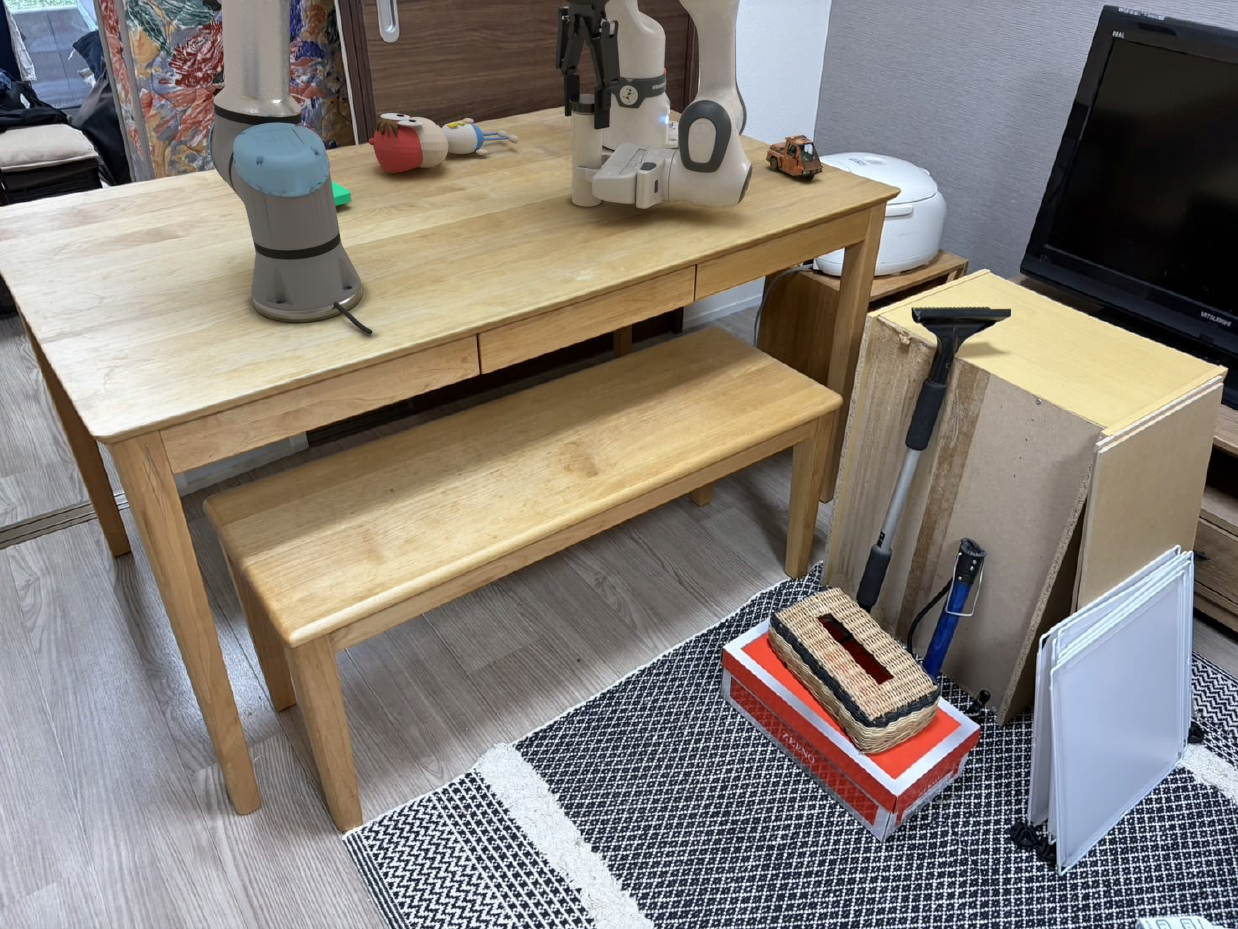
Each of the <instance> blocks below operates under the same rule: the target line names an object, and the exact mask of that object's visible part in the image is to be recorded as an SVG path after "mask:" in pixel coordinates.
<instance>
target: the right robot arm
mask: <svg viewBox="0 0 1238 929" xmlns="http://www.w3.org/2000/svg"><path fill="white" fill-rule="evenodd" d="M678 1H679V3H680V5H682V7H683V8H684V10H686V11H687V13H688V14H689V15H690V18H691V19H692V21H693V23H694V25H695V28H696V34H697V38H698V65H699V66H698V67H699V86H698V90H697V93H696V95H695V98H694V100H693V101H692V102H691V103H689V105H687V106H686V108H684V110H683V111H682V113H681V114H680V117H679V120H678V121H675V120H672V119H670V118H671V100H670V99H669V97H668V95H667V93H666V90H667V77H666V75H667V68H666V67H665V59H666V58H665V57H666V56H665V55H666V54H665V53H666V34H665V30H664V28H663V27H662V25H661V24H660V23H659V22H658V21H657V20H655V19H654V18H652V17H650V16H648V15H647V14H645V13H643V12H642V11H640V10H639V6H638V0H610V1H609V2H608V3H607V4H606V5H605V11H606V15H607V18H608V19H610V20H611V21H612V20H617V21H618V23H619V26H618V34H617V40H618V53H619V66H620V80H621V84H620V86H617V87H613V88H612V91H611V108H610V127H608V128H603V129H602V147H605V148H607V149H609V150H612V151H613V152H605V153H603V152H602V167H601V168H600V169H594V170H592V169H588V168H587V166H578V167H577V168H576V170H575V177H576V178H579V179H585V180H587V181H589V182H591V183H592V195H593V196H594V197H596V198H598V199H601V201H605V202H610V203H611V202H612V203H616V204H617V203H618V204H624V205H633V204H635V207H636V208H638V209H649V208H650V207H652V206H654V205H656V204H661V203H663V202H664V203H672V204H673V203H674V204H675V203H680V202H681V203H688V204H690V205H693V206H695V207H696V206H697V207H706V208H721V209H723V208H732V207H736V206H737V205H739V204H740V203H741V202H742V201H743V199H744V198H745V196H746V193H747V191H748V188H749V185H750V182H751V179H752V176H753V175H752V174H753V164H752V163H751V162H750V159H749V158H748V156H747V154H746V152H745V149H744V147H743V144H742V140H741V136H742V134H743V133H744V131H745V128H746V125H747V120H748V113H747V108H746V104H745V102H744V99H743V96H742V94H741V92H740V88H739V85H738V80H737V35H736V34H737V20H738V13H739V7H740V1H741V0H678ZM677 148H679V149H677Z"/></svg>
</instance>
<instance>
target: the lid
mask: <svg viewBox="0 0 1238 929" xmlns="http://www.w3.org/2000/svg"><path fill="white" fill-rule="evenodd" d="M569 100H570V101H569V108H570V109H571V110H572V111H575V112H580V113H594V93H580V94H578V95H573V96H571V97H570V99H569Z"/></svg>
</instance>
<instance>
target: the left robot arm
mask: <svg viewBox="0 0 1238 929" xmlns="http://www.w3.org/2000/svg"><path fill="white" fill-rule="evenodd" d="M609 1H610V0H565V2H567V3H569V4H568V5H566V6H559V7H557V10H556V12H557V21H558V22H557V34H556V35H557V36H556V48H555V61H554V66H555V69H557V70H560V72H561V73H560V74H561V75H562V76H563V94H564V96H563V97H564V116H565V117H571V109H570V108H569V101H570V100H569V99H570V97H571V96H573V95H578V94H581V79H580V78H581V75H580V74H579V73H580V72H581V70H580V69H579V68H578V67H579V64H580V60H581V56H582V52H583V49H584V45H586V46H587V47H588V48H589V53H590V56H591V61H592V65H593V70H594V75H595V79H596V85H597V86H595V87H594V93H593V94H594V129H596V130H598V129H603V128H608V127H610V108H611V91H612V88H613V87H617V86H620V84H621V80H620V66H619V53H618V40H617V34H618V26H619V23H618V21H617V20H612V21H611V20H610V19H608V18H607V15H606V11H605V5H606V4H607V3H608V2H609ZM221 23H222V24H221V25H222V47H223V50H222V52H223V70H224V71H223V73H224V87H223V88H222V89H221V90H220V91H219V92H218V93H217V94H216V95H215V96H214V97H213V110H214V111H213V116H214V117H213V118H214V119H213V120H214V121H213V122H212V124H211V126H210V129H209V133H208V141H207V142H208V150H209V155H210V159H211V162H212V165H213V167H214V168H215V170H216V171H217V173H218V175H219V177H221V178H222V180H223V181H224V182H225V183H226V184H228V186H229V187H230V188H231V190H232V191H234V193H235V194H236V196H237V197H238V198H239V199H240V200H241V201H242V202H243V206H244V208H245V211H246V215H247V219H248V220H247V221H248V224H249V228H250V233H251V237H252V242H253V247H254V251H255V258H254V264H253V273H252V283H251V289H250V290H251V291H250V294H251V299H252V303H253V307H254V309H255V310H256V311H257V313H259V314H260V315H262V316H264V317H266V318H268V319H271V320H275V321H281V322H289V323H304V322H314V321H315V322H316V321H320V320H326V319H330V318H332V317H336V316H338V315H341V314H342V315H343V316H345V318H347V319H348V320H349V321H350V322H351V323H352V324H353V325H354V326H355V327H356V328H358V330H360V331H361V332H363V333H365V334H367V335H368V336H371V335H372V334H373V333H374V332H373V330H372V329H371V328H369V327H367V326H365V325H364V324H363V323H362V322H360V321H359V320H358V319H357V318H356V317H355V316H354V315H353V314H352V313H351V312H350V311H349V310H351V309H353V308H354V307H355V306H356V305H357V304H358V303H359V302H360V301H361V298H362V297H363V287H362V282H361V278H360V276H359V274H358V272H357V270H356V268H355V266H354V264H353V263H352V261H351V259H350V257H349V255H348V253H347V251H346V250H345V248H344V245H343V243H342V239H341V233H340V225H339V220H338V214H337V207H336V206H335V200H334V194H333V188H332V182H331V181H332V177H331V162H330V158H329V156H328V153H327V150H326V146H325V144H324V143H325V142H324V141H323V139H322V138H321V137H320V135H318V133H317V132H315V131H313V130H311V129H310V128H308V127H305V126H303V125H302V123H303V122H302V118H303V117H302V116H303V111H302V110H303V109H302V106H301V105H300V103H298V102H297V100H296V99H295V98H294V97H293V96H292V94H291V0H221Z"/></svg>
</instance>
